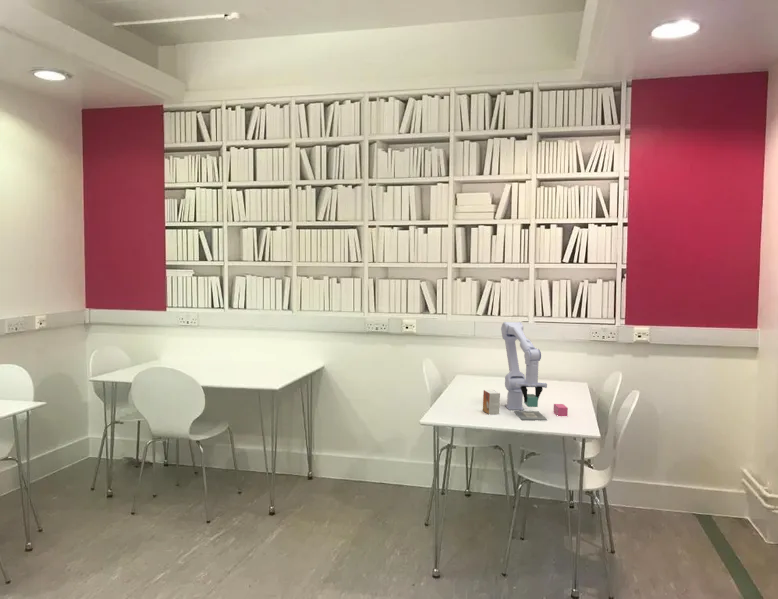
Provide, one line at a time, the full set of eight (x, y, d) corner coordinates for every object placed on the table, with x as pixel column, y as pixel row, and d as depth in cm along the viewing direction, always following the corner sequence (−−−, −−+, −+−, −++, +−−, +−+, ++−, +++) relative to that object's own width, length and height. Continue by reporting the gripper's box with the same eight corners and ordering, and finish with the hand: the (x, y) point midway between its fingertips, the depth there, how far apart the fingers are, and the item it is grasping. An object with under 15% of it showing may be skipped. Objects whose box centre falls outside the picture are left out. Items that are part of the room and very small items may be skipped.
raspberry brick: (553, 412, 311) (553, 403, 311) (562, 413, 311) (563, 404, 311) (557, 416, 303) (558, 407, 303) (567, 417, 303) (567, 407, 303)
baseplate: (514, 412, 310) (514, 410, 310) (538, 412, 310) (538, 411, 310) (521, 420, 294) (521, 418, 294) (547, 420, 294) (547, 419, 294)
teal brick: (524, 403, 305) (524, 393, 305) (533, 403, 305) (533, 394, 305) (527, 406, 297) (528, 397, 297) (537, 407, 297) (537, 397, 297)
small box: (482, 410, 311) (483, 389, 310) (493, 410, 312) (493, 389, 311) (488, 414, 303) (489, 393, 302) (499, 414, 304) (500, 392, 304)
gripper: (518, 375, 296) (517, 403, 297) (549, 375, 297) (548, 404, 297) (515, 372, 303) (514, 400, 304) (545, 373, 304) (544, 401, 304)
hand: (530, 402), depth 301 cm, fingers closed on teal brick, 5 cm apart
